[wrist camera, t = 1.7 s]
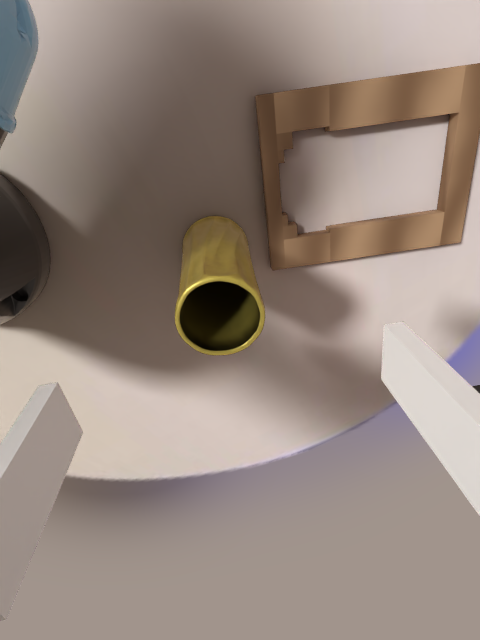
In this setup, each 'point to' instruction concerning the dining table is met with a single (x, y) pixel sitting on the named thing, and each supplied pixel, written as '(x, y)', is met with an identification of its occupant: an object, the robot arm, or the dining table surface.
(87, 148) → the dining table surface
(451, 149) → the keyhole board
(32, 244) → the robot arm
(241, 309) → the vase
